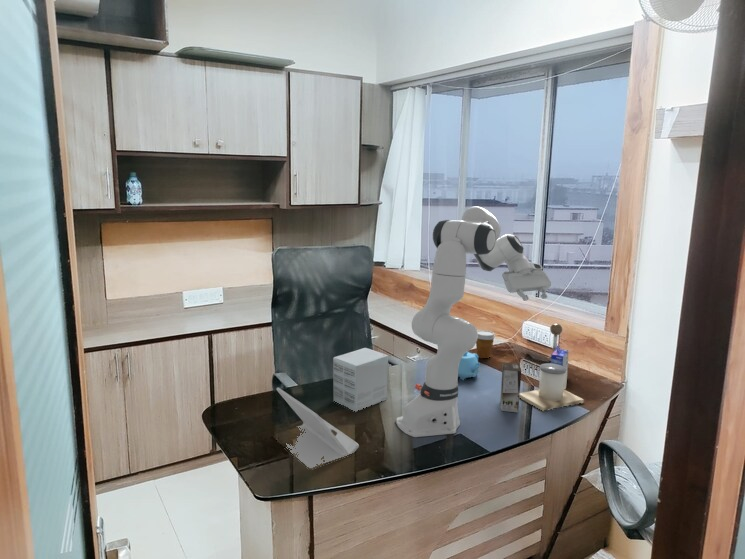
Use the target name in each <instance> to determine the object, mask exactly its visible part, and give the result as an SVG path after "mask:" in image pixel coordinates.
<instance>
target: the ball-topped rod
mask: <svg viewBox="0 0 745 559" xmlns="http://www.w3.org/2000/svg"><path fill="white" fill-rule="evenodd" d="M549 330H550V333H551V334H552V335H553V343H552V344H553V345H552V350H553V351H555V350H556V347H557V346H558V345H557V344H558V336H559V335H561V334H562V333H563V327H562V325H561V324H559V323H553V324H551V326H550V328H549Z"/></svg>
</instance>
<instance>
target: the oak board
mask: <svg viewBox="0 0 745 559" xmlns="http://www.w3.org/2000/svg"><path fill="white" fill-rule="evenodd" d="M538 394H539V389H535V390H534V389H533V390H529V391H524V392H520V395H519V399H520V398H521V399H520V400H522V401H524V402H526V403H528V404H529V405H531V406H532V405H533V407H534V406H535V407H534V408H536V409H537V408H538V410H539V409H540V410H539V411H541V410H542V411H541V412H545V411H544V410H547V411H549V410H548V409H552V408H557V409H559V408H558V407H562V406H567V407H569V406H568V405H571V406H575V405H574V404H576V405H580V404H579V403H581V404H584V399H583V398H582V397H580V396H578V395H575V394H574V393H572V392H570V391H568V390H567V389H564V390H563V399H562V400H560V401H548V400H545V399H542V398H540V397H539V395H538ZM562 408H563V407H562ZM552 410H553V409H552Z"/></svg>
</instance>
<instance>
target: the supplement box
mask: <svg viewBox="0 0 745 559" xmlns="http://www.w3.org/2000/svg"><path fill="white" fill-rule="evenodd" d="M332 359H333V360H332V362H333V363H332V364H333V369H332V370H333V371H332V372H333V373H332V374H333V377H332V378H333V402H334V401H335V402H337V403H339V404H341V405H344V406H346V407H348V408H349V409H351V410H353V411H352V412H354V411H355V412H354V413H357V412H359V411H361V410H364V409H366V407H367V408H369V407H371V405H372V406H374V405H376V404H379V403H382V402H384V401H387V400H388V398H389V397H388V391H389V388H388V386H389V385H388V384H389V383H388V382H389V355H388V354H386V353H383V352H380V351H376V350H373V349H371V348H367V347H363V348H360V349H357V350H354V351H350V352H347V353H344V354H340V355H337V356H334V357H333V358H332ZM381 401H382V402H381ZM335 402H334V403H335ZM337 403H336V404H337ZM339 404H338V405H339ZM341 405H340V406H341ZM363 408H364V409H363ZM349 409H348V410H349ZM351 410H350V411H351ZM358 410H359V411H358Z"/></svg>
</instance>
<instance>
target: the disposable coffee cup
mask: <svg viewBox="0 0 745 559" xmlns="http://www.w3.org/2000/svg"><path fill="white" fill-rule="evenodd" d="M477 333H478V338H477V342H476V344H475V346H476V354H477V355H478V358H479V357H480V358H479V359H482V358H488V359H490V358H491V356H492V355H491V354H492V350H493V346H494V345H493V344H494V339H495V337H496V335H495V332H493V331H491V330H484V329H483V330H482V329H481V330H477ZM489 357H490V358H489Z"/></svg>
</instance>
